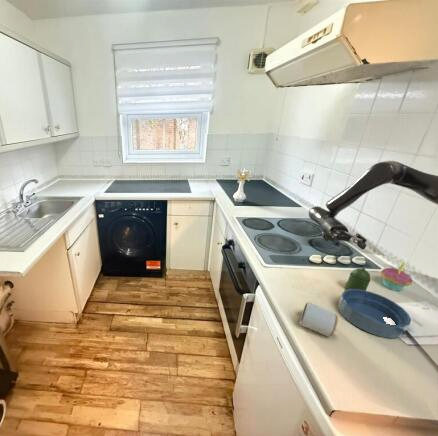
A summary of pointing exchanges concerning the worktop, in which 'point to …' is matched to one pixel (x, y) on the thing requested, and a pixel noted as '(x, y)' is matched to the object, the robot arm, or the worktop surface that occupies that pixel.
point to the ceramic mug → (319, 319)
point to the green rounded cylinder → (358, 280)
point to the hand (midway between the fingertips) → (351, 245)
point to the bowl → (373, 313)
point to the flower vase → (241, 184)
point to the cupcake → (395, 278)
